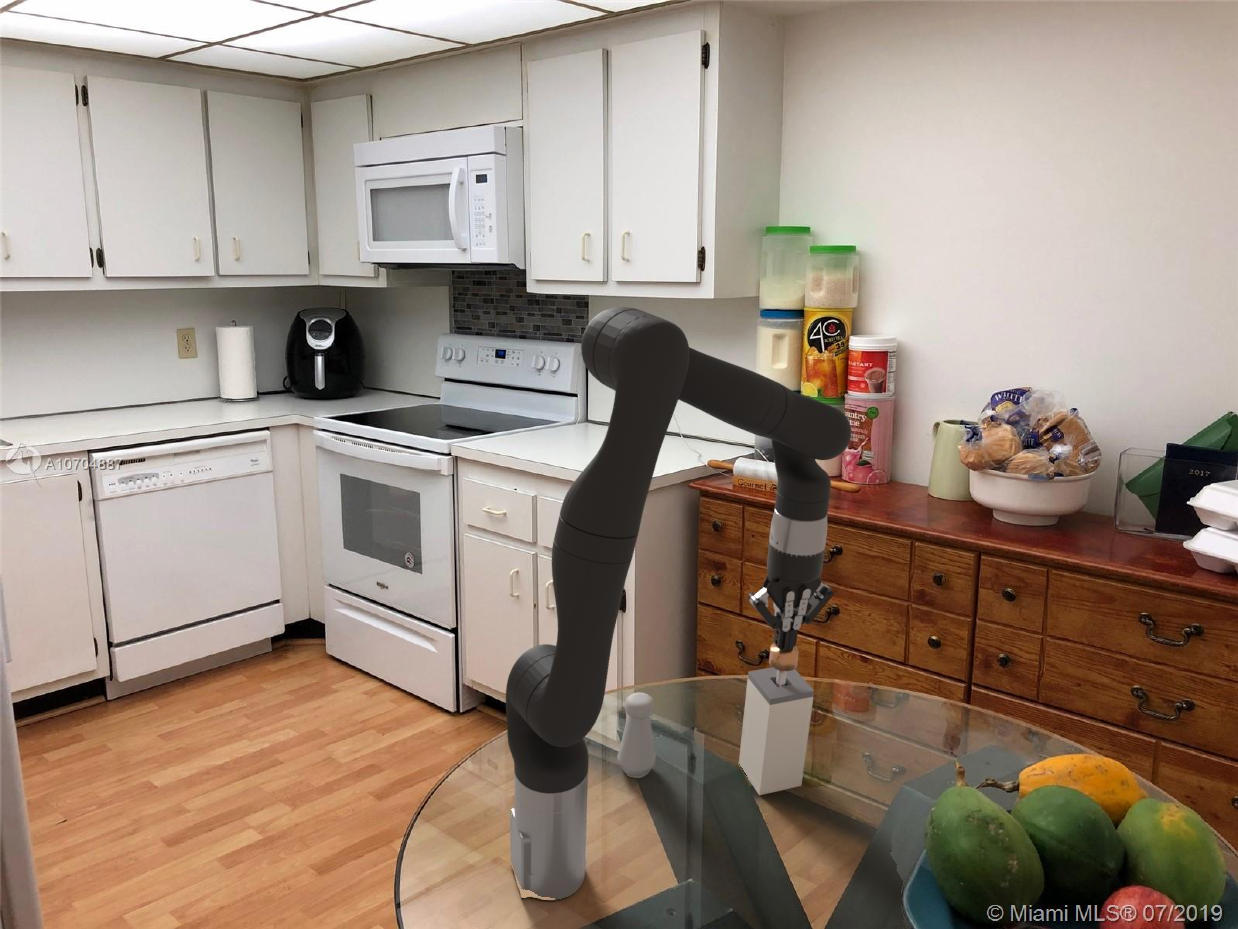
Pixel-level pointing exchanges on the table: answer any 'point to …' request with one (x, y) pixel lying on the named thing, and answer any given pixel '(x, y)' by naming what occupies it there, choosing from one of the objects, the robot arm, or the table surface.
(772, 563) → the robot arm
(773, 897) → the table surface
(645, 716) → the salt shaker
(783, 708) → the press canister
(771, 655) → the plunger
